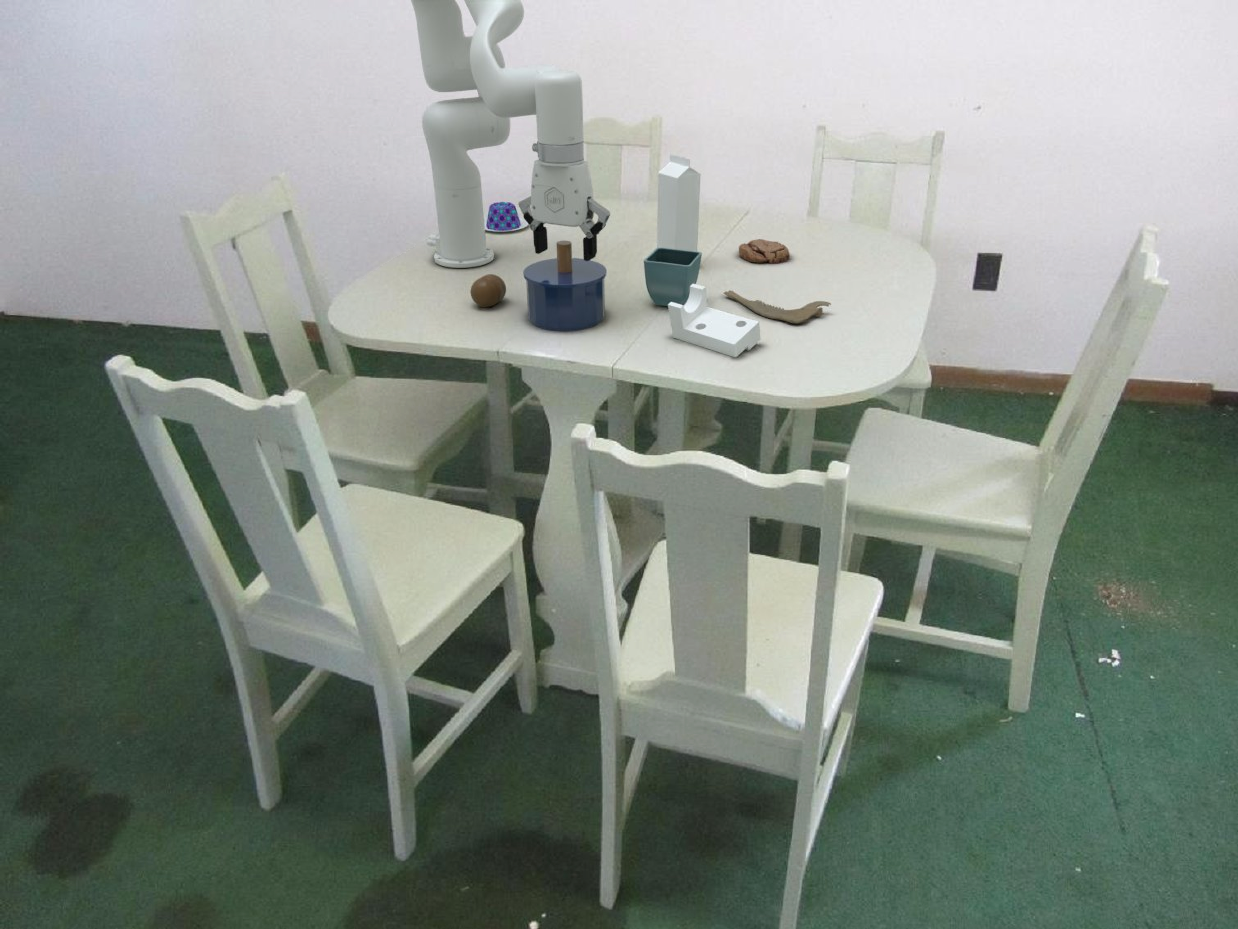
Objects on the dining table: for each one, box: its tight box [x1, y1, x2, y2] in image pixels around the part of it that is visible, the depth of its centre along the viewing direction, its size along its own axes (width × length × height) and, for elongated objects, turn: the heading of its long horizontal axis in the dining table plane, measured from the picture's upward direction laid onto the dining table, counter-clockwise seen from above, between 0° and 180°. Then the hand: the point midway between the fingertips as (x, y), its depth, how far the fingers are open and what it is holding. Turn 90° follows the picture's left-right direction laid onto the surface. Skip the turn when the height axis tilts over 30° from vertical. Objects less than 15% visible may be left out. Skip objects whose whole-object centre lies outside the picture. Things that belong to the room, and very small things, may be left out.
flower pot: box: [643, 247, 703, 307], centre depth 167 cm, size 9×9×9 cm
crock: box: [525, 278, 606, 332], centre depth 161 cm, size 14×14×8 cm
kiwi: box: [470, 273, 507, 308], centre depth 168 cm, size 8×5×5 cm
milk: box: [656, 153, 701, 252], centre depth 182 cm, size 6×6×22 cm
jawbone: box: [723, 290, 832, 324], centre depth 165 cm, size 9×20×2 cm, turn 63°
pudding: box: [484, 201, 530, 233], centre depth 211 cm, size 12×12×5 cm
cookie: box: [738, 238, 790, 264], centre depth 192 cm, size 10×11×3 cm
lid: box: [523, 240, 608, 288], centre depth 158 cm, size 15×15×6 cm
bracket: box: [667, 283, 762, 358], centre depth 151 cm, size 13×7×8 cm, turn 49°
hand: (565, 255), depth 157 cm, fingers open, 9 cm apart
